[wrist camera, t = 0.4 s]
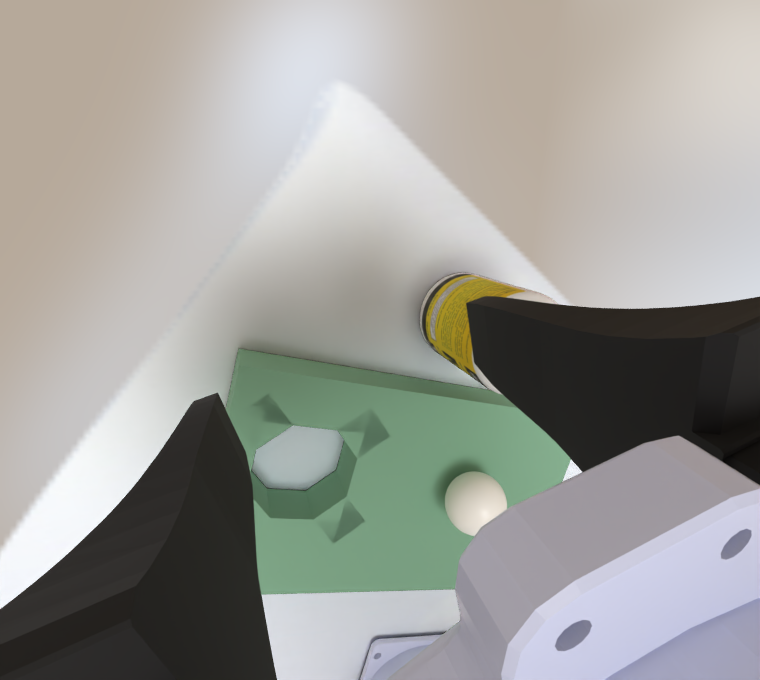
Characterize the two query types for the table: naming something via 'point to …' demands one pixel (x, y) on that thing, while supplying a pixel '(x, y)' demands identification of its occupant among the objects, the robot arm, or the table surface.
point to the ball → (474, 501)
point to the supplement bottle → (463, 316)
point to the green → (378, 472)
